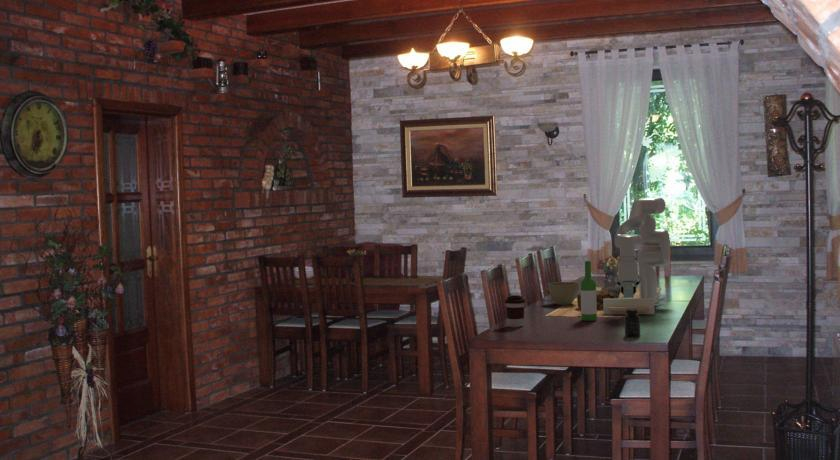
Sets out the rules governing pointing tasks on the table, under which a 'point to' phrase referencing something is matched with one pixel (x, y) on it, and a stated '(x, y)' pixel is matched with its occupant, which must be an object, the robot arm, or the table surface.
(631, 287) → the cabinet block
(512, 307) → the coffee cup
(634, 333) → the supplement bottle
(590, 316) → the wine bottle
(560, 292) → the flower pot
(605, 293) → the bread
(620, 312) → the wall shelf
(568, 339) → the table surface
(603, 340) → the table surface
